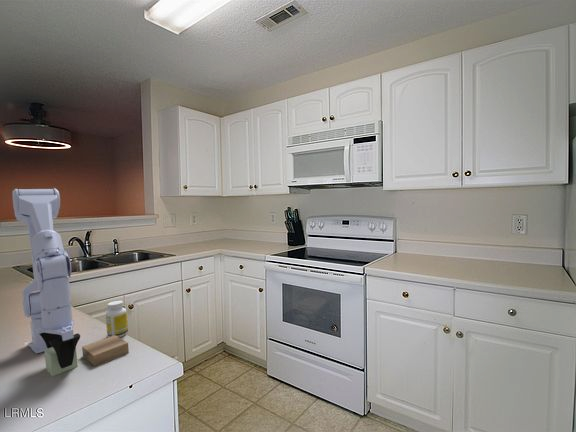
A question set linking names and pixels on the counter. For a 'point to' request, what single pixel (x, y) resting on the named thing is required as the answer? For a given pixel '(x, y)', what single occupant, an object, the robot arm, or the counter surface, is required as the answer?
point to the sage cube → (53, 363)
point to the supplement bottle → (116, 319)
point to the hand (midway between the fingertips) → (61, 361)
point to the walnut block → (105, 350)
